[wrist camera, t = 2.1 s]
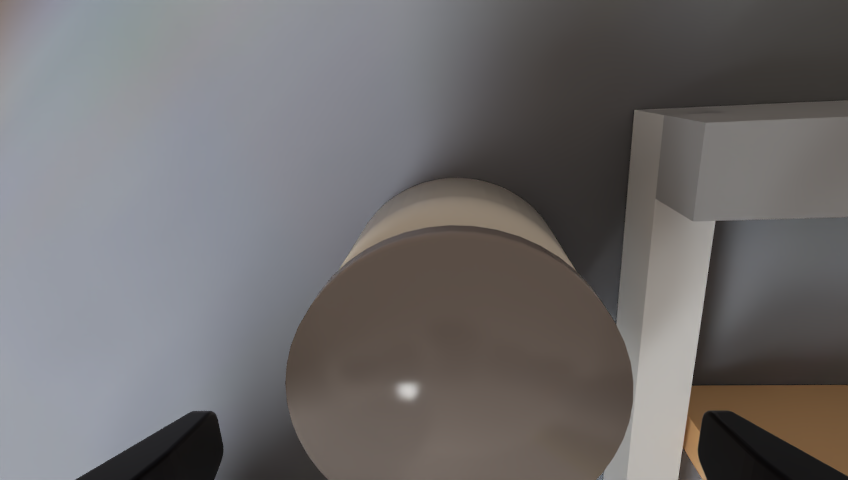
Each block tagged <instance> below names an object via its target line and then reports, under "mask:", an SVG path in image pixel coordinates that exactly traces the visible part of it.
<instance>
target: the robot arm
mask: <svg viewBox="0 0 848 480" xmlns="http://www.w3.org/2000/svg"><path fill="white" fill-rule="evenodd" d="M222 457H223V442H222V437H221V433H220V428H219V423H218V419H217V416H216V414H215V413H214V412H212V411H192V412H190V413H188V414H186V415H185V416H183V417H181V418H180V419H178V420H176V421H174V422H173V423H171V424H169V425H168V426H166V427H164V428H163V429H161V430H159V431H157V432H156V433H154V434H152V435H151V436H149V437H147V438H146V439H144V440H142V441H140V442H139V443H137V444H135V445H134V446H132V447H130V448H129V449H127V450H125V451H123V452H122V453H120V454H118V455H117V456H115V457H113V458H112V459H110V460H108V461H106V462H105V463H103V464H101V465H100V466H98V467H96V468H94V469H93V470H91V471H89V472H88V473H86V474H84V475H83V476H81V477H79V478H77V479H76V480H214V479H215V476H216V474H217V471H218V468H219V466H220V463H221V460H222ZM698 458H699V461H700V464H701V467H702V469H703V471H704V474H705V476H706V479H707V480H848V476H847V475H845V474H843V473H841V472H839V471H838V470H836V469H834V468H832V467H831V466H829V465H827V464H825V463H823V462H822V461H820V460H818V459H816V458H814V457H813V456H811V455H809V454H807V453H805V452H804V451H802V450H800V449H798V448H797V447H795V446H793V445H791V444H789V443H788V442H786V441H784V440H782V439H780V438H779V437H777V436H775V435H773V434H771V433H770V432H768V431H766V430H764V429H762V428H761V427H759V426H757V425H755V424H754V423H752V422H750V421H748V420H746V419H745V418H743V417H741V416H739V415H737V414H736V413H734V412H732V411H728V410H709V411H707V412H705V413H704V415H703V418H702V423H701V429H700V436H699V442H698Z"/></svg>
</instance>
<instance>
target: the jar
mask: <svg viewBox="0 0 848 480" xmlns="http://www.w3.org/2000/svg"><path fill="white" fill-rule="evenodd" d="M285 384H286V396H287V404H288V408H289V413H290V417H291V421H292V423H293V426H294V429H295V431H296V434H297V436H298V439H299V440H300V442H301V444H302V446H303V447H304V449H305V451H306V453H307V455H308V456H309V457H310V459H311V460H312V461H313V463H314V464H315V465H316V467H317V468H318V469H319V471H320V472H321V473H322V474H323V475H324V476H325V477H326V478H327V479H328V480H596V479H597V478H598V477H599V476H600V475H601V474H602V473H603V472H604V470H605V469H606V467H607V466H608V465H609V463H610V462H611V460H612V459H613V458H614V456H615V454H616V452H617V450H618V448H619V447H620V445H621V443H622V441H623V439H624V436H625V433H626V430H627V427H628V424H629V421H630V416H631V410H632V405H633V375H632V368H631V361H630V358H629V355H628V352H627V348H626V345H625V342H624V340H623V338H622V336H621V334H620V332H619V330H618V328H617V325H616V323H615V322H614V320H613V319H612V317H611V316H610V314H609V313H608V311H607V309H606V308H605V306H604V305H603V303H602V302H601V300H600V299H599V298H598V296H597V295H596V293H595V292H594V290H593V289H592V287H591V286H590V285H589V284H588V283H587V282H586V281H585V280H584V279H583V277H582V276H581V275H580V274H579V273H578V272H577V271H576V270H575V268H574V267H573V265H572V263H571V262H570V260H569V259H568V257H567V255H566V254H565V252H564V250H563V249H562V247H561V246H560V244H559V242H558V241H557V239H556V238H555V236H554V234H553V233H552V231H551V230H550V228H549V227H548V225H547V224H546V222H545V221H544V219H543V218H542V217H541V216H540V215H539V214H538V212H537V211H536V210H535V209H534V208H533V207H532V206H531V205H529V204H528V203H527V202H526V201H524V200H523V199H522V198H520V197H519V196H517V195H516V194H514V193H512V192H511V191H509V190H507V189H505V188H502V187H500V186H498V185H495V184H492V183H488V182H485V181H482V180H475V179H469V178H446V179H437V180H433V181H428V182H424V183H421V184H419V185H416V186H413V187H411V188H409V189H407V190H405V191H403V192H401V193H399V194H397V195H396V196H395V197H393V198H392V199H391V200H389V201H388V202H386V203H385V204H384V205H383V206H382V207H381V208H380V209H379V210H378V211H377V212H376V213H375V214H374V216H373V217H372V218H371V219H370V221H369V222H368V223H367V225H366V226H365V228H364V230H363V231H362V233H361V235H360V236H359V238H358V240H357V241H356V243H355V244H354V246H353V248H352V249H351V251H350V253H349V254H348V256H347V258H346V259H345V261H344V262H343V264H342V266H341V267H340V269H339V270H338V271H337V272H336V273H335V274H334V275H333V276H332V277H331V278H330V280H329V281H328V282H327V283H326V285H325V286H324V287H323V288H322V290H321V291H320V292H319V294H318V295H317V297H316V298H315V300H314V302H313V303H312V305H311V306H310V308H309V309H308V311H307V313H306V315H305V316H304V318H303V320H302V321H301V323H300V325H299V327H298V329H297V332H296V334H295V337H294V339H293V342H292V344H291V348H290V352H289V357H288V361H287V368H286V383H285Z"/></svg>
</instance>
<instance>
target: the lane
mask: <svg viewBox="0 0 848 480" xmlns="http://www.w3.org/2000/svg"><path fill="white" fill-rule="evenodd" d="M834 217H848V100H841V101H819V102H797V103H775V104H753V105H731V106H709V107H687V108H664V109H642V110H634V120H633V132H632V144H631V156H630V168H629V180H628V192H627V204H626V216H625V227H624V239H623V251H622V263H621V275H620V287H619V299H618V311H617V323H616V325H617V328H618V330H619V332H620V334H621V336H622V338H623V340H624V342H625V345H626V348H627V352H628V355H629V358H630V361H631V368H632V375H633V405H632V410H631V416H630V421H629V424H628V427H627V430H626V433H625V436H624V439H623V441H622V443H621V445H620V447H619V448H618V450H617V452H616V454H615V456H614V458H613V459H612V460H611V462H610V463H609V465H608V466H607V467H606V469H605V470H604V477H603V480H678V476H679V469H680V462H681V456H682V449H683V442H684V435H685V428H686V421H687V414H688V407H689V400H690V393H691V386H692V380H693V373H694V366H695V359H696V352H697V345H698V338H699V331H700V324H701V317H702V310H703V304H704V297H705V290H706V283H707V276H708V269H709V262H710V255H711V248H712V241H713V234H714V227H715V221H728V220H763V219H798V218H834Z"/></svg>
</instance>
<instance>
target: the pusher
mask: <svg viewBox="0 0 848 480" xmlns="http://www.w3.org/2000/svg"><path fill="white" fill-rule="evenodd" d="M709 410H728V411H732V412H734V413H736V414H737V415H739V416H741V417H743V418H745V419H746V420H748V421H750V422H752V423H754V424H755V425H757V426H759V427H761V428H762V429H764V430H766V431H768V432H770V433H771V434H773V435H775V436H777V437H779V438H780V439H782V440H784V441H786V442H788V443H789V444H791V445H793V446H795V447H797V448H798V449H800V450H802V451H804V452H805V453H807V454H809V455H811V456H813V457H814V458H816V459H818V460H820V461H822V462H823V463H825V464H827V465H829V466H831V467H832V468H834V469H836V470H838V471H839V472H841V473H843V474H845V475H847V476H848V385H703V386H691V393H690V400H689V407H688V414H687V421H686V428H685V435H684V442H683V448H684V450H685V452H686V453H687V455H688V457H689V458H690V460H691V461H692V463H693V465H694V466H695V468H696V470H697V471H698V473H699V474H700V476H701V478H702V479H703V480H707V479H706V476H705V474H704V471H703V469H702V467H701V464H700V461H699V458H698V442H699V436H700V429H701V423H702V418H703V415H704V413H705V412H707V411H709Z"/></svg>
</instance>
